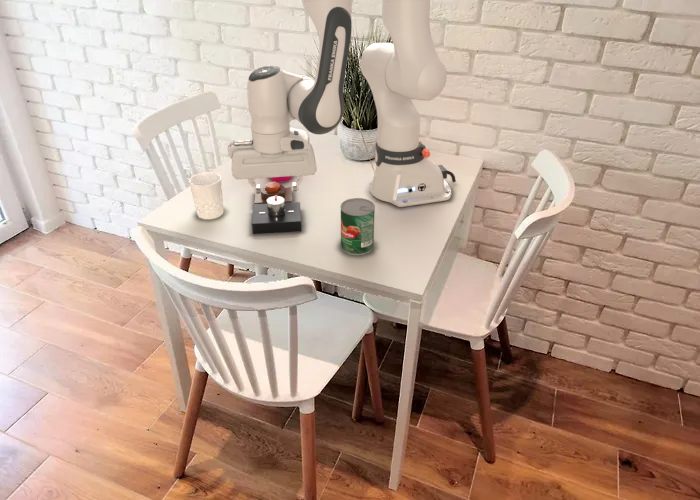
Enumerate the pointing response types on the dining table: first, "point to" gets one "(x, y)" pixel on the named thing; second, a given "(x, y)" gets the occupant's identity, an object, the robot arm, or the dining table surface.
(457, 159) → the dining table surface
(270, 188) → the button
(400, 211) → the dining table surface
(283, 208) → the hob knob
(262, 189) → the button box
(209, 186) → the white cup
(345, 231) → the canned tomato
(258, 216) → the hob panel
